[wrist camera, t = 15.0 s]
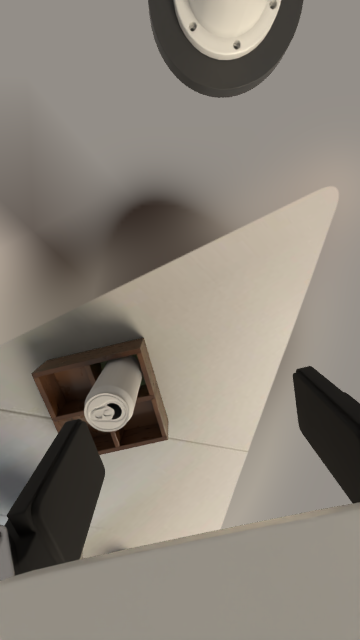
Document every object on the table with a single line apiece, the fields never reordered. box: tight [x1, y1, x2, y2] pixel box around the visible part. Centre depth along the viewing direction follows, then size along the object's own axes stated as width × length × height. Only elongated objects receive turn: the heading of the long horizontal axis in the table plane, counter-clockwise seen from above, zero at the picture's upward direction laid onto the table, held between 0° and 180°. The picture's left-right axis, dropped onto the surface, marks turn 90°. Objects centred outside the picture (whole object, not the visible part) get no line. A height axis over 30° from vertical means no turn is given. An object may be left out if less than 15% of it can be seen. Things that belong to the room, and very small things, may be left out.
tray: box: [32, 338, 168, 455], centre depth 42 cm, size 17×17×5 cm
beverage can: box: [84, 355, 143, 432], centre depth 36 cm, size 6×6×12 cm
